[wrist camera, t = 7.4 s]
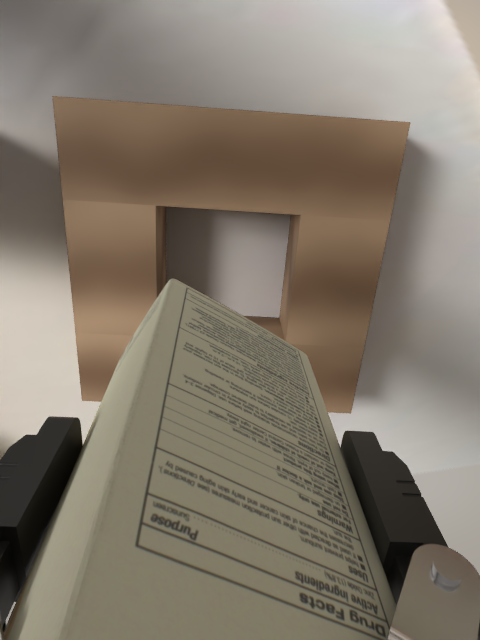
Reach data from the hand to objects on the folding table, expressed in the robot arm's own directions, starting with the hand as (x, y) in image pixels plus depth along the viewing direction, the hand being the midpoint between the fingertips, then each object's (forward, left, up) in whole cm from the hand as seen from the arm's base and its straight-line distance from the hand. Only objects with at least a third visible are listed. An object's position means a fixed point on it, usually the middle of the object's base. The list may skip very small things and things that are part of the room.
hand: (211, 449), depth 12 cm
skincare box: (0, 0, -5) cm, 5 cm away
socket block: (0, 0, -19) cm, 19 cm away
